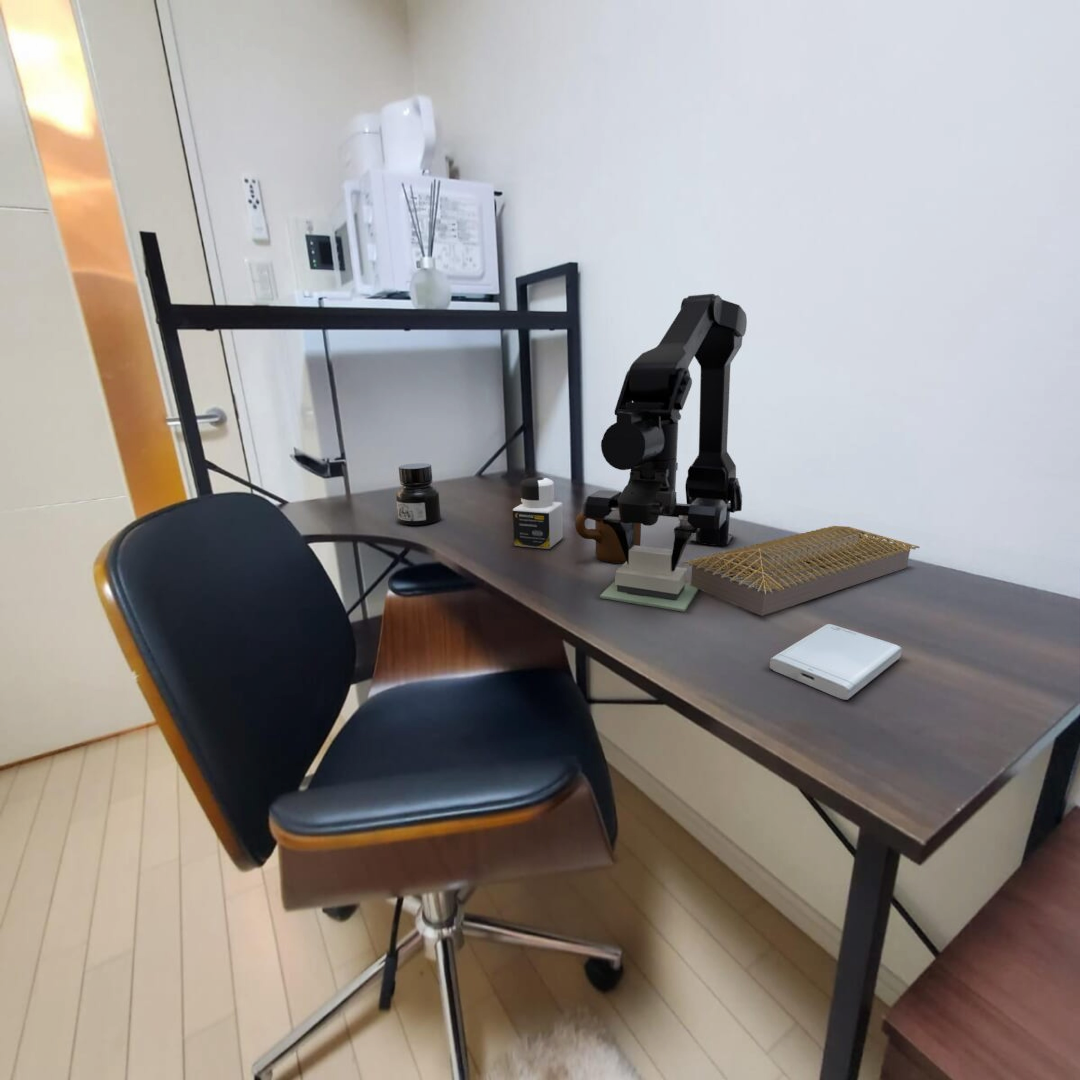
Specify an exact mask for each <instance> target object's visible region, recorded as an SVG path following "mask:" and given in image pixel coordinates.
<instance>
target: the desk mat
mask: <svg viewBox="0 0 1080 1080" xmlns="http://www.w3.org/2000/svg"><path fill="white" fill-rule="evenodd" d="M699 590H700V589H699V588H696V587H694V586H692V585H691V584H689V583H685V588H684V590H683V591H682V593H681V594H680V596H679V597H678V599H677V600H672V599H666V598H660V597H653V596H647V595H641V594H634V593H628V592H622V591H617V585H615V580H614V581H613V582H612V583H611V584H610V585H609V586H608V587H607V588H606V589H605V590H604V591H603V592H602V593H601V594H600V595H599V598H600V599H604V600H611V601H616V602H623V603H628V604H635V605H640V606H648V607H653V608H658V609H659V608H660V609H664V610H665V609H666V610H671V611H677V612H682V613H685V612H686V611H687V609H688V607H689V606H690V604H691V602H692V601H693V599H694V598H695V596H696V595H697V593H698V592H699Z"/></svg>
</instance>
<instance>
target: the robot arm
mask: <svg viewBox="0 0 1080 1080" xmlns="http://www.w3.org/2000/svg"><path fill="white" fill-rule="evenodd" d="M747 319H748V318H747V313H746V311H744V309H743V308H742V307H741V305H740V304H737V303H735V302H731V301H729V300H725V299H723V298H722V297H721V296H720V295H718V294H715V293H705V294H694V295H688V296H687V297H684V298H682V301H681V304H680V309H679V312H678V313H677V314H676V316H675V318H674V320H673V321H672V322H671V324H670V326H669V328H668V329H667V330H666V332H665V334H664V335H663V337H662V338H661V340H660V342H659V343H658V345H657V346H656V347H653V348H652V349H649V350H647V351H645V352H641V354H640V355H639V356H638V357H637V358H636V359H635V360H634V361H633V362H632V364H631V365H630V366H629V369H628V371H627V372H626V374H625V377H624V380H623V383H622V386H621V390H620V393H619V396H618V399H617V402H616V405H615V408H614V416H616V422H615V423H612V424H611V425H610V426H608V427H607V429H606V430H605V432H604V433H603V435H602V439H601V442H600V450H601V453H602V456H603V458H604V460H605V462H607V463H608V465H610V466H611V467H612V468H614V469H617V470H620V471H628V470H630V472H629V479H628V482H627V483H626V485H625V486H624V488H623V490H622V491H616V490H604V489H603V490H602V489H598V490H597V491H595V492H593V493H591V494H590V495H588V496H587V497H585V499H584V502H583V505H582V506H583V507H582V508H583V509H582V511H583V515H584V516H585V517H593V518H604V519H603V520H602V522H603V523H604V524H608V525H609V526H610V527H611V528H612V529H613V530H614V531H615V533H616V535H617V537H618V539H619V541H620V544H621V547H622V550H623V552H624V555H625V558H626V561H627V564H628V565H629V550H630V549H631V548H632V547H633V546H634V523H639V524H641V525H643V526H647V527H648V526H649V527H650V526H653V525H655V524H657V523H658V520H659V517H669V518H670V517H671V518H678V521H679V523H678V524H677V525H676V526H674V528H673V532H674V539H673V540H674V541H673V548H672V550H673V553H672V559H671V568H672V571H675V569H676V567H678V565H679V563H680V561H681V558H682V555H683V553H684V551H685V549H686V546H687V544H688V542H689V541H690V543H692V544H700V545H701V544H702V545H708V546H717V547H728V546H729V544H730V542H731V541H732V539H733V537H734V535H733V534H732V533H729V532H730V518H731V516H730V515H731V513H732V514H734V513H736V512H741V511H742V508H743V493H742V490H741V489H742V488H741V486H740V481H739V478H738V477H737V466H736V464H735V462H734V461H733V459H732V457H731V455H730V454H729V452H728V433H729V412H730V411H729V410H730V408H729V407H730V386H731V385H730V384H731V383H730V381H731V365H732V362H733V360H734V359H735V357H736V356H737V354H738V352H739V351H740V349H741V348H742V345H743V337H745V335H746V332H747V324H748V320H747ZM694 358H695V360H696V361H697V363H698V364H699V366H700V381H699V382H700V383H699V385H700V387H699V428H698V431H699V432H698V455H697V456H696V458H695V459H694V461H693V462H692V464H691V465H689V467H688V469H687V477H686V480H685V488H684V489H685V499H686V503H678V502H677V501H678V500H677V491H676V486H677V484H676V483H677V471H678V467H679V462H677V460H678V439H679V437H678V436H679V421H680V420H681V418H682V415H681V413H680V412H681V411H683V409H684V407H685V403H686V401H687V398H688V396H689V394H690V391H691V388H692V384H693V379H692V377H691V373H690V370H689V366H690V365H691V363H692V361H693V359H694ZM692 534H693V536H692ZM691 536H692V537H691Z"/></svg>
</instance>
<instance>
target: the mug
mask: <svg viewBox="0 0 1080 1080" xmlns="http://www.w3.org/2000/svg"><path fill="white" fill-rule="evenodd" d="M587 519H588V520H592V521H595V522H594V523H595V525H594V526H595V527H594V528H587V527H586V523H585V522H586V520H587ZM603 519H604V518H593V517H585V516H584V515H583V510H581V511H580V512H579V513H578V514H577V516H576V518H575V521H574V527H575V530H576V533H577V534H578V535H579V536H580V537H581V538H583V539H585V540H593V541H594V542H595V555H596V557H597V558H598V559H599V560H600V561H603V562H606V563H611V564H624V563H625V562H626V558H625V555H624V552H623V550H622V547H621V544H620V541H619V539H618V537H617V535H616V533H615V531H614V530H613V529H612V528H611V527H610V526H609V525H608V524H604V523H603V522H602V520H603ZM641 538H642V524H639V523H634V545H635V546H641V542H642V541H641V540H642V539H641Z"/></svg>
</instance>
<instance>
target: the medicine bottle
mask: <svg viewBox="0 0 1080 1080" xmlns="http://www.w3.org/2000/svg"><path fill="white" fill-rule="evenodd" d="M519 485H520V502H521V503H520V504H519V505H517V506H515V507H514V508H513V509H512V525H513V527H512V528H513V529H512V530H513V545H514V546H515V547H523V548H533V549H534V548H535V549H543V550H550V549H551V548H552V547H554V546H555V545H556V544H558V543H559V542H560V541H561V540H563V537H564V531H563V530H564V528H563V524H564V523H563V522H564V521H563V503H562V502H561V501H555V483H554V481H553V480H552V479H550V478H547V477H541V476H540V477H538V476H537V477H528V478H525V479H524V480H521V483H520V484H519Z"/></svg>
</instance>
